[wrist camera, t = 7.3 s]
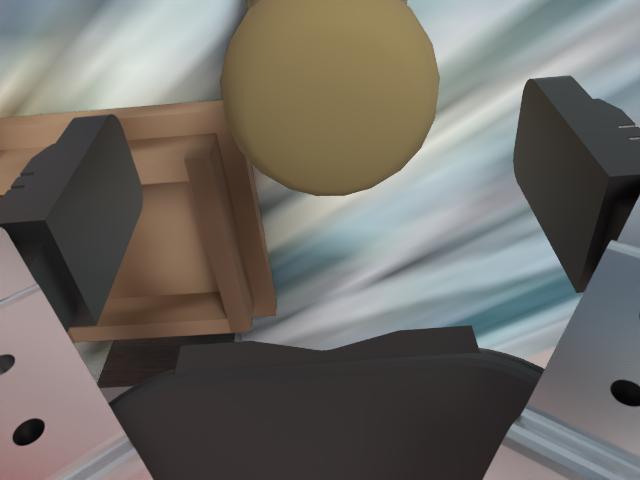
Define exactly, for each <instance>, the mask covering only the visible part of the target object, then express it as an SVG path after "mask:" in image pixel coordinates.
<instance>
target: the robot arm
mask: <svg viewBox="0 0 640 480" xmlns="http://www.w3.org/2000/svg"><path fill="white" fill-rule="evenodd" d="M513 163H514V172H515V177H516V180H517V183H518V185H519V186H520V188H521V190H522V192H523V194H524V196H525V198H526V199H527V201H528V203H529V205H530V207H531V209H532V211H533V212H534V214H535V216H536V218H537V220H538V222H539V224H540V226H541V227H542V229H543V231H544V233H545V235H546V237H547V239H548V240H549V242H550V244H551V246H552V248H553V250H554V252H555V254H556V255H557V257H558V259H559V261H560V263H561V265H562V267H563V268H564V270H565V272H566V274H567V276H568V278H569V280H570V281H571V283H572V285H573V287H574V289H575V291H576V293H580V292H584V293H583V295H582V297H581V299H580V301H579V303H578V305H577V307H576V309H575V311H574V313H573V315H572V317H571V319H570V321H569V323H568V325H567V327H566V329H565V331H564V332H563V334H562V336H561V338H560V340H559V342H558V344H557V346H556V348H555V350H554V352H553V354H552V356H551V358H550V360H549V362H548V364H547V366H546V368H545V369H543V368H542V367H539V366H537V365H535V364H533V363H530V362H528V361H526V360H524V359H521V358H518V357H515V356H512V355H509V354H506V353H502V352H498V351H494V350H489V349H483V348H478V345H477V342H476V338H475V335H474V332H473V329H472V326H457V327H443V328H429V329H415V330H400V331H396V332H392V333H389V334H385V335H382V336H378V337H374V338H371V339H367V340H364V341H360V342H357V343H353V344H350V345H346V346H342V347H339V348H335V349H331V350H324V351H321V350H312V349H305V348H298V347H291V346H284V345H277V344H269V343H262V342H255V341H243V342H229V343H215V344H201V345H186V346H181V347H180V352H179V356H178V360H177V365H176V369H173V370H170V371H167V372H164V373H161V374H159V375H156V376H154V377H151V378H149V379H147V380H145V381H143V382H141V383H139V384H137V385H135V386H133V387H132V388H130V389H128V390H127V391H125V392H123V393H122V394H120V395H119V396H117V397H116V398H115V399H113V400H112V401H111V402H109V403H107V401H106V399H105V398H104V396H103V394H102V392H101V391H100V389H99V387H98V386H97V384H96V382H95V381H94V379H93V377H92V375H91V374H90V372H89V370H88V369H87V367H86V365H85V363H84V362H83V360H82V358H81V357H80V355H79V353H78V351H77V350H76V348H75V346H74V345H73V343H72V341H71V339H70V338H69V336H68V334H67V333H68V330H69V328H71V327H85V326H97V324H98V321H99V319H100V316H101V314H102V311H103V308H104V306H105V303H106V301H107V298H108V296H109V293H110V291H111V288H112V285H113V283H114V280H115V278H116V275H117V273H118V270H119V268H120V265H121V262H122V260H123V257H124V255H125V252H126V250H127V247H128V245H129V242H130V239H131V237H132V234H133V232H134V229H135V227H136V224H137V222H138V219H139V216H140V214H141V211H142V207H143V191H142V185H141V182H140V178H139V175H138V172H137V169H136V166H135V163H134V160H133V158H132V155H131V152H130V149H129V146H128V143H127V140H126V137H125V134H124V131H123V128H122V125H121V123H120V121H119V119H118V118H117V117H116V116H115V115H113V114H108V115H96V116H85V117H75V118H73V119H72V121H71V122H70V123H69V125H68V126H67V128H66V129H65V130H64V132H63V133H62V135H61V136H60V137H59V139H58V140H57V142H56V143H55V144H51V145H50V146H48V147H47V148H45V149H44V150H42V151H41V152H40V153H38V154H37V155H35V156H34V157H33V158H31V160H30V161H29V162H28V164H27V165H26V166H25V168H24V169H23V170H22V172H21V173H20V177H17V178H16V180H15V181H14V182H13V184H12V185H11V186H10V187H11V190H7V192H6V193H5V194H4V196H3V197H2V199H1V200H0V480H640V128H639V127H635V123H634V122H633V121H632V120H631V119H630V118H629V117H628V116H627V115H626V114H625V113H624V112H623V111H622V110H621V109H619V108H617V107H615V106H613V105H611V104H609V103H607V102H604V101H602V100H600V99H592V98H591V97H590V96H589V95H588V93H587V92H586V91H585V90H584V89H583V88H582V87H581V86H580V85H579V84H578V83H577V82H576V80H575V79H574V78H573V77H571V76H559V77H547V78H535V79H529V80H528V81H527V82H526V84H525V87H524V90H523V95H522V102H521V108H520V115H519V121H518V128H517V134H516V141H515V147H514V157H513Z"/></svg>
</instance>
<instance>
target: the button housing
mask: <svg viewBox="0 0 640 480" xmlns="http://www.w3.org/2000/svg"><path fill="white" fill-rule="evenodd" d="M229 342H242V341H241V337H240V333H239V332H238V333H222V334H205V335H189V336H172V337H155V338H139V339H122V340H114V341H113V343H112V346H111V349H110V351H109V354H108V357H107V359H106V362H105V365H104V367H103V370H102V372H101V375H100V378H99V380H98V383H97V386H98V387H99V389H100V391H101V392H102V394H103V396H104V398H105V399H106V401H107V403H109V402H111V401H112V400H113V399H115V398H116V397H117V396H119V395H120V394H122V393H123V392H125V391H127V390H128V389H130V388H132V387H133V386H135V385H137V384H139V383H141V382H143V381H145V380H147V379H149V378H151V377H154V376H156V375H159V374H161V373H164V372H167V371H170V370H173V369H176V365H177V360H178V356H179V352H180V347H181V346H186V345H201V344H215V343H229Z"/></svg>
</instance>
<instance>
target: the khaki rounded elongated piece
mask: <svg viewBox="0 0 640 480" xmlns="http://www.w3.org/2000/svg"><path fill="white" fill-rule="evenodd" d="M247 8H248V12H247V13H246V15H245V17H244V18H243V20H242V22H241V23H240V25H239V27H238V28H237V30H236V32H235V33H234V35H233V36H232V38H231V40H230V42H229V45H228V47H227V51H226V55H225V60H224V65H223V70H222V75H221V80H220V84H221V92H222V100H223V107H224V114H225V118H226V122H227V125H228V127H229V129H230V131H231V133H232V135H233V137H234V139H235V141H236V143H237V145H238V147H239V149H240V151H241V152H242V153H243V154H244V155H245V156H246V157H247V158H248V159H249V160H250V161H251V163H252V164H253V165H254V166H255V167H256V168H257V169H258V170H259V171H260V172H261V173H263V174H265V175H266V176H268V177H270V178H272V179H273V180H275V181H277V182H279V183H280V184H282V185H284V186H285V187H287V188H289V189H292V190H296V191H300V192H304V193H308V194H312V195H315V196H345V195H348V194H352V193H355V192H359V191H362V190H366V189H370V188H372V187H374V186H375V185H377V184H379V183H380V182H382V181H384V180H385V179H387V178H389V177H390V176H392V175H394V174H395V173H397V172H398V171H400V170H401V169H402V168H403V167H404V166H405V165H406V164H407V163H408V161H409V160H410V159H411V158H412V157H413V156H414V155H415V154H416V153H417V152H418V151H419V150H420V148H421V147H422V145H423V143H424V140H425V138H426V136H427V134H428V132H429V130H430V128H431V126H432V124H433V122H434V118H435V113H436V105H437V97H438V89H439V81H440V77H439V72H438V68H437V63H436V58H435V54H434V49H433V45H432V43H431V41H430V39H429V37H428V35H427V34H426V32H425V31H424V29H423V27H422V26H421V24H420V23H419V21H418V19H417V18H416V16H415V15H414V13H413V11H412V10H411V8H410V7H409V6H407V0H247Z"/></svg>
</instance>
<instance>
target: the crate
mask: <svg viewBox="0 0 640 480" xmlns="http://www.w3.org/2000/svg"><path fill="white" fill-rule="evenodd" d="M108 114H113V115H115V116H116V117H117V118H118V119H119V121H120V123H121V125H122V128H123V131H124V134H125V137H126V140H127V143H128V146H129V149H130V152H131V155H132V158H133V160H134V163H135V166H136V169H137V172H138V175H139V178H140V182H141V185H142V191H143V207H142V211H141V214H140V216H139V219H138V222H137V224H136V227H135V229H134V232H133V234H132V237H131V239H130V242H129V245H128V247H127V250H126V252H125V255H124V257H123V260H122V262H121V265H120V268H119V270H118V273H117V275H116V278H115V280H114V283H113V285H112V288H111V291H110V293H109V296H108V298H107V301H106V303H105V306H104V308H103V311H102V314H101V316H100V319H99V321H98V324H97V326H85V327H71V328H69V330H68V333H67V334H68V336H69V338H70V339H71V341H72V343H73V342H89V341H106V340H122V339H139V338H155V337H172V336H189V335H205V334H222V333H238V332H251V327H252V319H253V317H257V316H274V315H276V307H277V300H276V295H275V289H274V284H273V279H272V273H271V268H270V263H269V257H268V252H267V247H266V242H265V236H264V231H263V226H262V220H261V215H260V210H259V204H258V199H257V194H256V188H255V183H254V178H253V172H252V167H251V162H250V160H249V159H248V158H247V157H246V156H245V155H244V154H243V153H242V152H241V151H240V149H239V147H238V145H237V143H236V141H235V139H234V137H233V135H232V133H231V131H230V129H229V127H228V125H227V122H226V118H225V114H224V107H223V100H214V101H202V102H190V103H178V104H166V105H154V106H142V107H129V108H117V109H105V110H93V111H81V112H69V113H57V114H45V115H33V116H21V117H9V118H0V200H1V199H2V197H3V196H4V194H5V193H6V192H7V190H11V187H10V186H11V185H12V184H13V182H14V181H15V180H16V178H17V177H20V173H21V172H22V170H23V169H24V168H25V166H26V165H27V164H28V162H29V161H30V160H31V158H33V157H34V156H35V155H37V154H38V153H40V152H41V151H42V150H44V149H45V148H47V147H48V146H50V145H51V144H55V143H56V142H57V140H58V139H59V137H60V136H61V135H62V133H63V132H64V130H65V129H66V128H67V126H68V125H69V123H70V122H71V121H72V119H73V118H75V117H85V116H96V115H108Z"/></svg>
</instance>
